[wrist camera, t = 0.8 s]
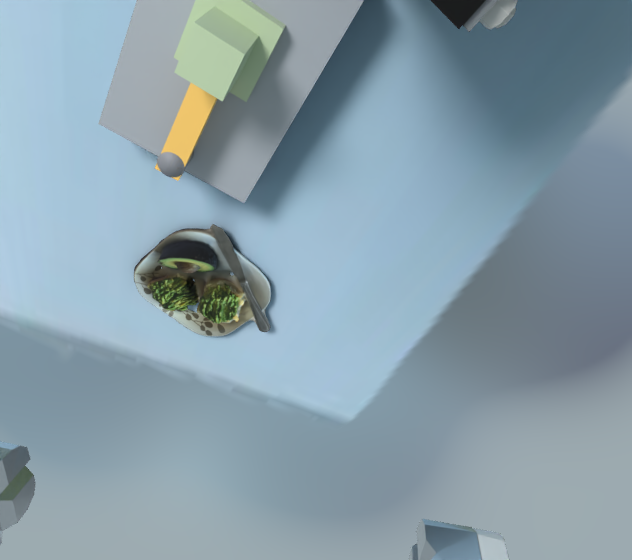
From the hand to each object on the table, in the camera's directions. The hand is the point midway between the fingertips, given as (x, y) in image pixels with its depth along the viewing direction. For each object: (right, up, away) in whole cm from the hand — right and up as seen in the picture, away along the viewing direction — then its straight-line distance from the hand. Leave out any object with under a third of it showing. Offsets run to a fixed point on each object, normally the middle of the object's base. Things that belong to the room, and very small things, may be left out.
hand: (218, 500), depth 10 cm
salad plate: (-13, +5, +56) cm, 58 cm away
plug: (-5, +27, +34) cm, 44 cm away
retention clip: (-9, +20, +36) cm, 42 cm away
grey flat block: (-6, +27, +36) cm, 46 cm away
